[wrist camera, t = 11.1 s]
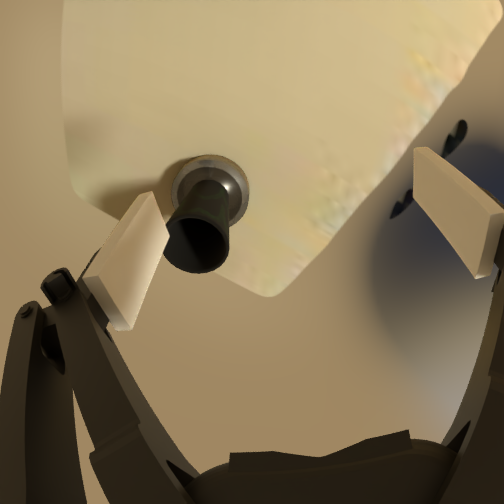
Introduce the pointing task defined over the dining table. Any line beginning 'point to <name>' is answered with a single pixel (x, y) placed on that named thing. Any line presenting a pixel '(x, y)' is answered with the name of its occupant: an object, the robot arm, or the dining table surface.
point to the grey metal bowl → (217, 171)
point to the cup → (200, 229)
